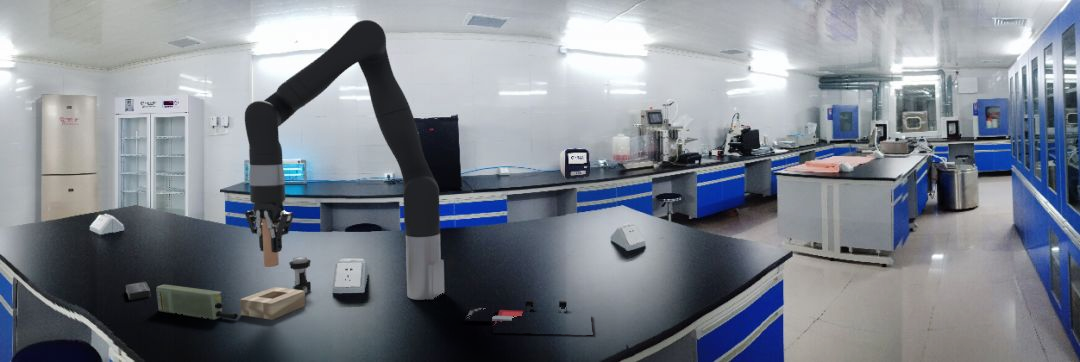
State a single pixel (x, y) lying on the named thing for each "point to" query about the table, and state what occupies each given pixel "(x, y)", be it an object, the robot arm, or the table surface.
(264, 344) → the table surface
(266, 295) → the socket block
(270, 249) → the peg
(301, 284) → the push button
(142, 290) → the multiport hub
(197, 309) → the handheld radio
